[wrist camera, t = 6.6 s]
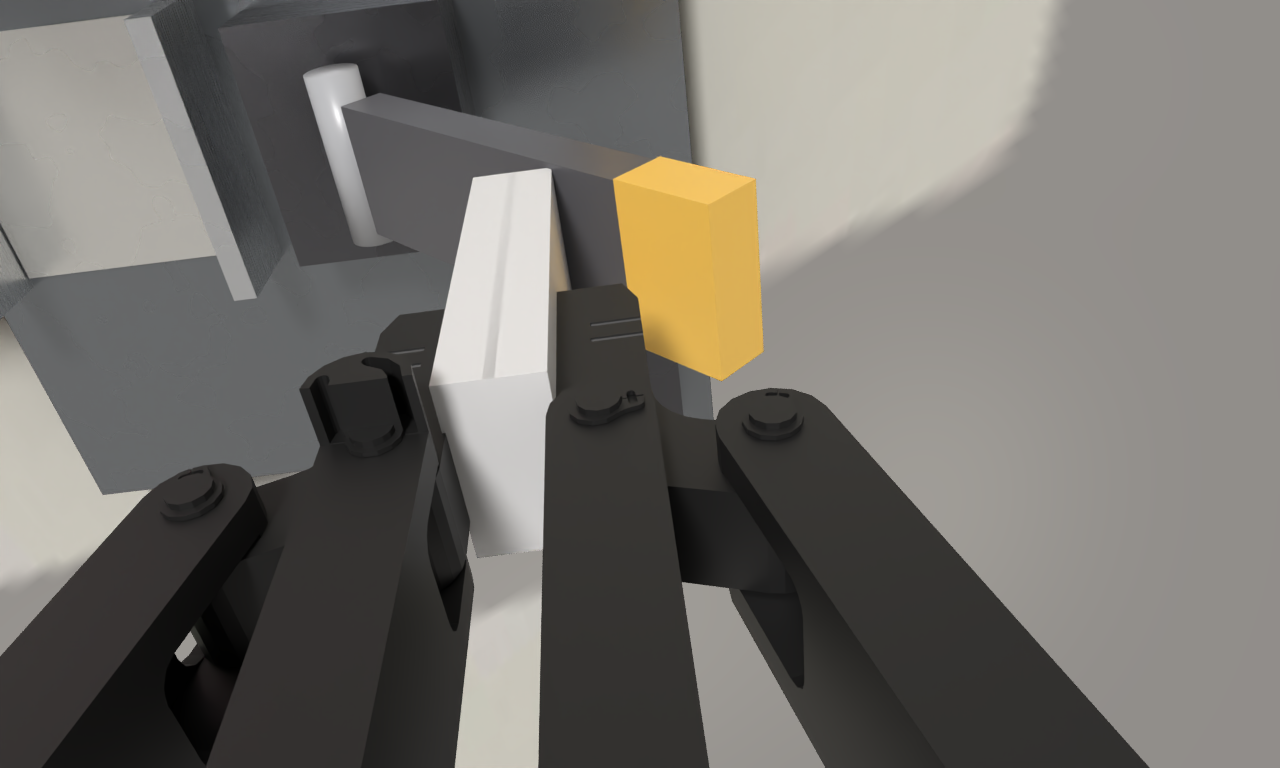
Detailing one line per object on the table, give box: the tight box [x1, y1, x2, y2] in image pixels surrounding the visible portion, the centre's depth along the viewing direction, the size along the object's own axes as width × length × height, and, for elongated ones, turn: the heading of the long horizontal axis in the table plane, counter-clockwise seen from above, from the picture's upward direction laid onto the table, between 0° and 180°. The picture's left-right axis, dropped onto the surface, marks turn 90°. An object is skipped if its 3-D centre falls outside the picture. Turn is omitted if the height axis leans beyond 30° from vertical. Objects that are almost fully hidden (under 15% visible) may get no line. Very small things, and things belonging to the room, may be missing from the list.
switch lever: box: [303, 63, 763, 381], centre depth 19 cm, size 1×4×12 cm
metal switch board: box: [0, 0, 714, 495], centre depth 21 cm, size 20×17×16 cm
